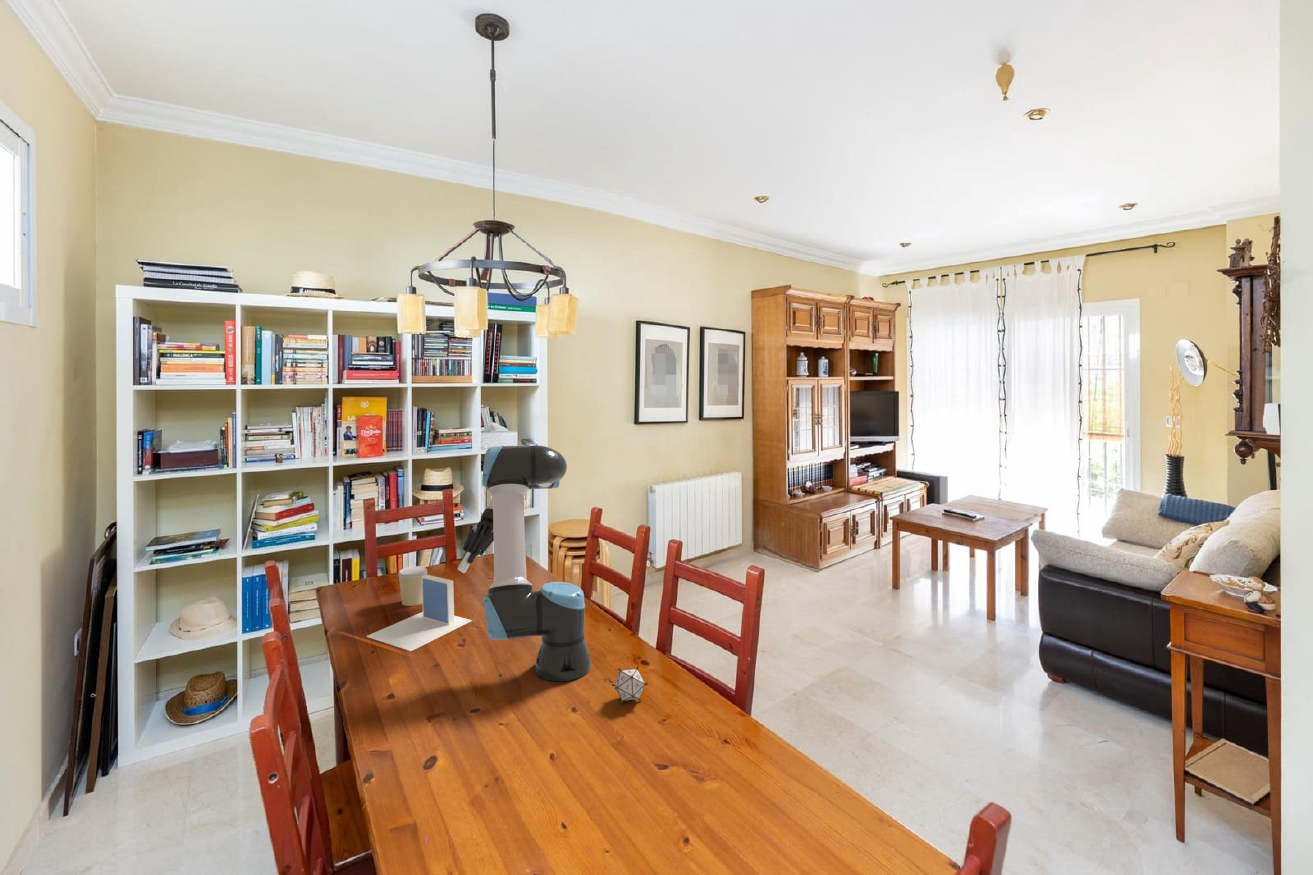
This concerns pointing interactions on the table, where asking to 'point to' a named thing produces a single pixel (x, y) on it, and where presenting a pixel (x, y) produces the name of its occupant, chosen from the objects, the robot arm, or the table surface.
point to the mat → (416, 631)
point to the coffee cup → (411, 585)
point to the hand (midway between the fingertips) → (461, 570)
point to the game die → (629, 684)
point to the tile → (438, 599)
